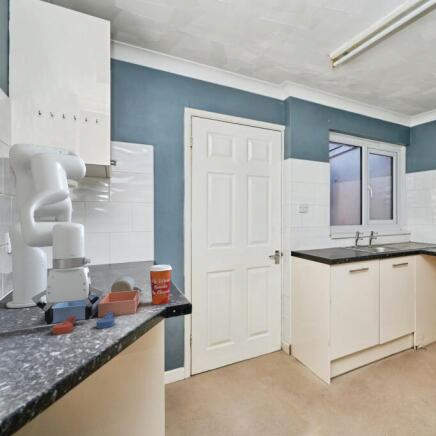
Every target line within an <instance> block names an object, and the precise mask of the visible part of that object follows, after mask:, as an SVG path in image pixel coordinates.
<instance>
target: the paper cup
mask: <svg viewBox="0 0 436 436" xmlns="http://www.w3.org/2000/svg"><path fill="white" fill-rule="evenodd" d="M172 269H173V268H172V266H171V265H170V264H155V265H151V266H150V268H149V269H148V272H149V277H150V287H151V288H150V291H151V303H152V305H158V306H159V305H165V304H168V303H170V292H171V277H172Z"/></svg>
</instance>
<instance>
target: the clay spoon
mask: <svg viewBox="0 0 436 436" xmlns="http://www.w3.org/2000/svg"><path fill="white" fill-rule="evenodd" d="M75 322H76V320H75V316H70V317H68V318H67V319H66V320H65V321H64V322H61V323H58V324H55V325H53V326H52V334H53V335H63V334H68V333H71V332H72V331H74V323H75Z"/></svg>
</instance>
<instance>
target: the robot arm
mask: <svg viewBox="0 0 436 436" xmlns="http://www.w3.org/2000/svg"><path fill="white" fill-rule="evenodd" d="M8 158H9V162H10V166H11V168H12V170H13V172H14V175H15V200H14V201H15V210H16V213H17V214H19V220H16V221H13V222H12V223H11V224H10V225H9V226H8V231H7V232H8V237H9V242H10V246H11V263H12V264H11V268H12V269H11V270H12V272H11V273H12V274H11V277H12V279H11V280H12V300H11V301H8V302H7V303H6V308H8V309H21V308H29V307H30V308H31V307H38V308H39V309H41V310H42V311H43V312H44V322H46V325H47V326H48V325H49V326H50V325H51V324H53V323H52V322H53V308H52V307H54V306H55V304H58V303H64V302H74V301H83V302H84V303H85V304H86V307H85V319H84V320H85V321H89V320H90V319H89V318H90V316H92V305H93V304H94V303H95V302H96V301H97V300H98V299H99V298H100V297H101V295H102V296H103V294H104V292H105V291H104V290H103V289H101V288H99V287H97V286H94V285H92V281H91V273H90V269H89V266H86V265H88V264H91V258H87V257H86V250H85V247H86V246H85V245H86V243H85V241H86V240H85V239H86V235H85V234H86V233H85V226H84V225H83V224H82V223H79V222H74V221H72V216H73V215H72V214H73V202H72V199H71V197H70V193H71V192H70V188H69V184H68V180H76V181H77V180H78V181H79V180H82V179H84V178H85V176H86V173H87V166H86V163H85V161H84V159H83V158H82V157H81V156H80V155H79V154H77V153H76V152H74V151H73V150H70V149H66V148H59V147H53V146H46V145H39V144H33V143H32V144H31V143H15V144H12V145H11V146H10V148H9V151H8ZM35 217H54V219H41V218H40V219H39V218H37V219H36V218H35ZM45 247H47V248H48V247H51V248H52V258H51V259H52V264H51V265H52V268H50V269H49V271H48V255H47V253H46V252H45V251H44V250H43V249H42V248H45ZM92 293H93V294H96V296H95V297H94V298H93V299H91V298H90V297H89V296H90V295H91V294H92Z"/></svg>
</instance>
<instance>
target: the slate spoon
mask: <svg viewBox="0 0 436 436" xmlns="http://www.w3.org/2000/svg"><path fill="white" fill-rule="evenodd" d="M95 325H96V326H95V327H96V329H98V330H99V329H100V330H102V329H108V328H111V327H114V326H115V318H114V316H113V312H108V313H107V315H106V316H105V317H103V318H99V319H97V320H96V322H95Z"/></svg>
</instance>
